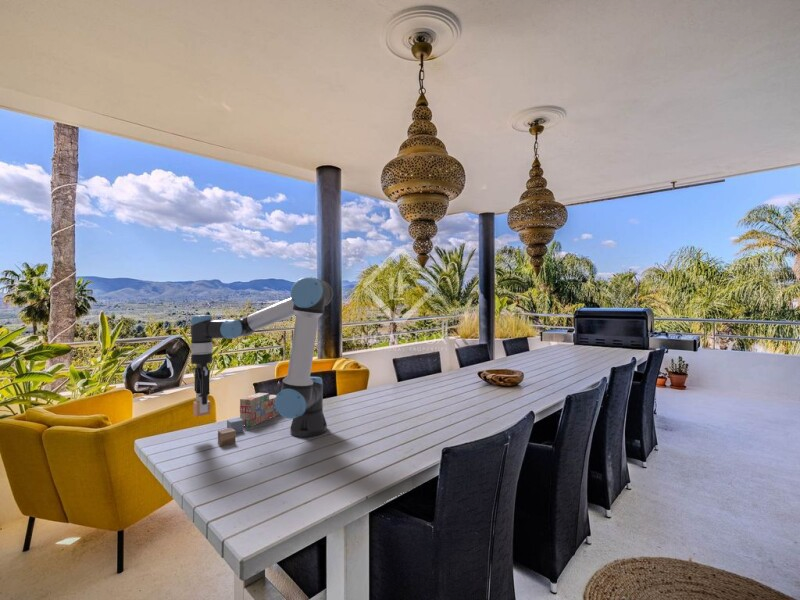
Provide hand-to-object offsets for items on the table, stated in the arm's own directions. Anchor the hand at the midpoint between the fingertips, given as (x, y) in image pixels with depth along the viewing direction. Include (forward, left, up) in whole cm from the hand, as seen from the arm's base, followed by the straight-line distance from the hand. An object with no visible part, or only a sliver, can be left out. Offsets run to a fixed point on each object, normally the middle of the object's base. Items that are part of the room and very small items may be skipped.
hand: (201, 410), depth 145 cm
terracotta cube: (0, 0, -1) cm, 1 cm away
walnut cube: (-12, -6, -12) cm, 17 cm away
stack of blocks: (+9, -28, -12) cm, 32 cm away
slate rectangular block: (0, -13, -11) cm, 17 cm away
